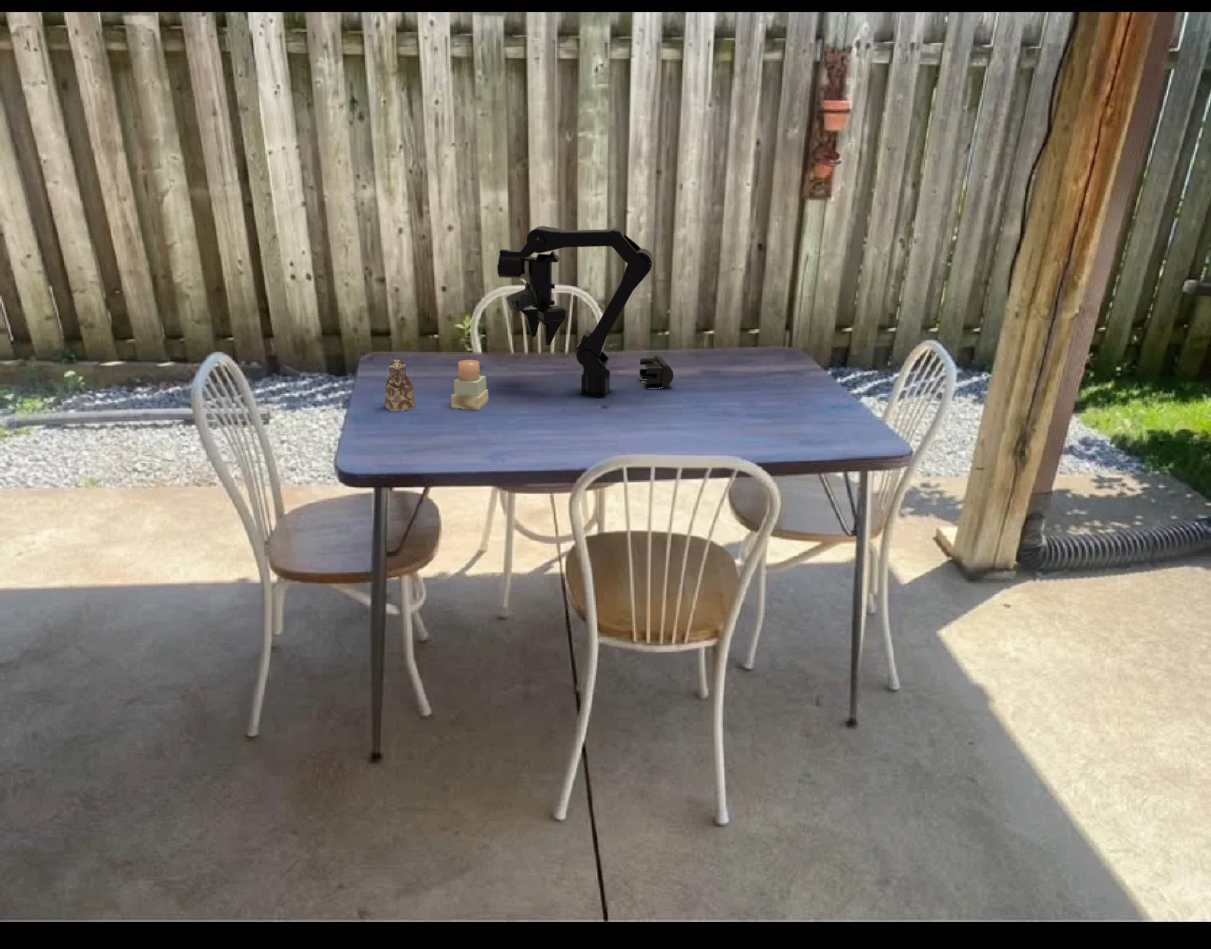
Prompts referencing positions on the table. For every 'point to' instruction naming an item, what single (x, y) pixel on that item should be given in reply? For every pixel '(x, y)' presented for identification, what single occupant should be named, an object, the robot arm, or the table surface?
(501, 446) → the table surface
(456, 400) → the base block
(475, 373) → the orange-brown short cylinder
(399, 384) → the figurine
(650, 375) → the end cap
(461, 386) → the top block
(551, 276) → the robot arm
